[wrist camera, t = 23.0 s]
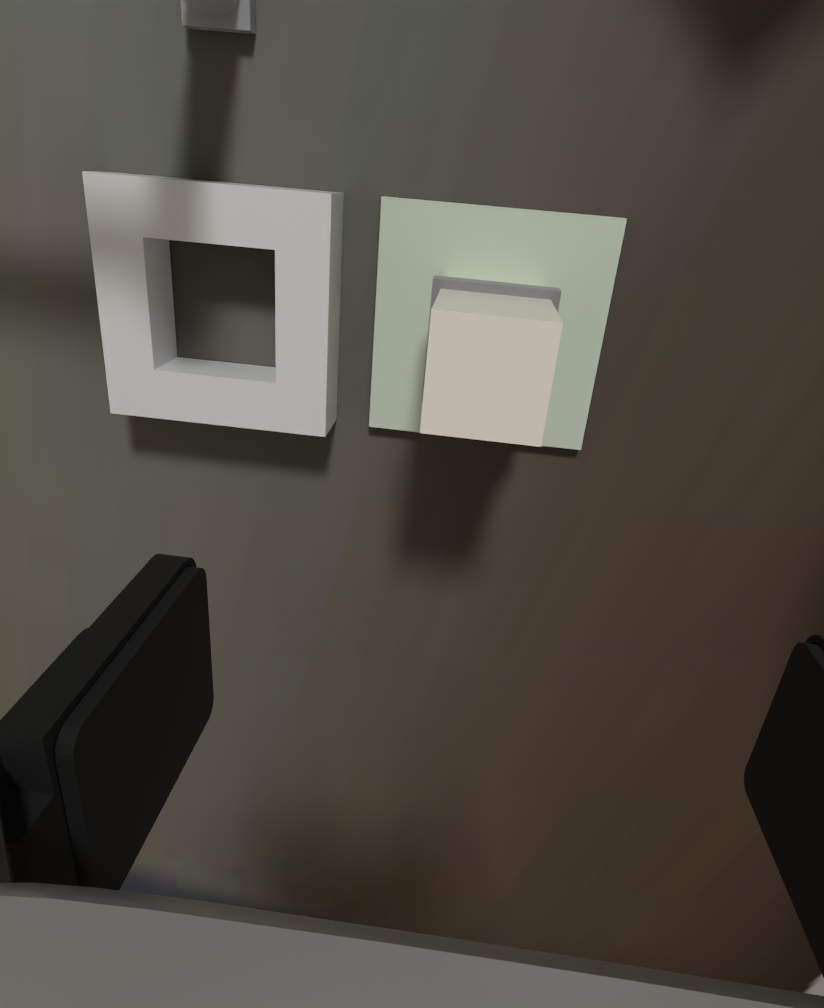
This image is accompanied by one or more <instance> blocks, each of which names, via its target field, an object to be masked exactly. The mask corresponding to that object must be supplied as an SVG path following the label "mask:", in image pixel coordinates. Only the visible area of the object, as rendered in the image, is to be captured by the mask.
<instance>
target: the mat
mask: <svg viewBox="0 0 824 1008" xmlns="http://www.w3.org/2000/svg"><path fill="white" fill-rule="evenodd" d="M626 221H627V219H626V218H618V217H607V216H596V215H585V214H574V213H563V212H552V211H541V210H529V209H518V208H507V207H496V206H485V205H474V204H463V203H451V202H440V201H429V200H418V199H407V198H396V197H385V196H382V197H381V214H380V233H379V251H378V270H377V288H376V306H375V325H374V343H373V361H372V380H371V398H370V417H369V427H375V428H385V429H394V430H403V431H412V432H420V424H421V413H422V403H423V402H421V401H422V390H423V379H424V369H425V358H426V347H427V336H428V326H429V315H430V304H431V293H432V283H433V278H434V276H435V275H437V276H447V277H457V278H466V279H476V280H486V281H496V282H506V283H516V284H526V285H535V286H545V287H555V288H560V290H561V291H562V292H561V298H560V304H559V309H558V314H559V316H560V318H561V320H562V322H563V327H562V333H561V338H560V344H559V349H558V355H557V361H556V366H555V372H554V378H553V383H552V389H551V394H550V400H549V406H548V411H547V417H546V423H545V428H544V434H543V439H542V445H541V446H548V447H557V448H566V449H575V450H581V446H582V441H583V436H584V431H585V426H586V421H587V416H588V411H589V406H590V401H591V396H592V391H593V386H594V381H595V376H596V371H597V366H598V361H599V356H600V351H601V346H602V341H603V336H604V331H605V326H606V321H607V316H608V311H609V306H610V301H611V296H612V291H613V286H614V281H615V276H616V271H617V266H618V261H619V256H620V251H621V246H622V241H623V236H624V231H625V226H626Z"/></svg>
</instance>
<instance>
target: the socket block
mask: <svg viewBox="0 0 824 1008" xmlns="http://www.w3.org/2000/svg"><path fill="white" fill-rule="evenodd" d="M181 14H182V26H184V27H186V28H188V29H196V30H209V31H222V32H235V33H248V34H256V19H255V0H181ZM82 174H83V183H84V191H85V200H86V208H87V217H88V225H89V234H90V242H91V251H92V259H93V268H94V276H95V284H96V293H97V301H98V310H99V318H100V327H101V335H102V344H103V352H104V361H105V369H106V378H107V386H108V395H109V403H110V412H111V413H113V414H122V415H131V416H140V417H149V418H158V419H167V420H176V421H185V422H194V423H203V424H212V425H221V426H230V427H239V428H248V429H257V430H266V431H275V432H284V433H293V434H302V435H311V436H320V437H326V435H327V434H328V432H329V431H330V429H331V427H332V426H333V424H334V423H335V421H336V420H337V389H338V358H339V328H340V297H341V266H342V235H343V204H344V193H340V192H329V191H318V190H307V189H296V188H285V187H273V186H262V185H251V184H240V183H229V182H218V181H207V180H195V179H184V178H173V177H162V176H151V175H140V174H129V173H118V172H91V171H82ZM169 240H176V241H186V242H197V243H207V244H218V245H228V246H239V247H249V248H260V249H270V250H275V332H276V367H267V366H257V365H248V364H238V363H229V362H220V361H210V360H201V359H191V358H182V357H177V344H176V330H175V316H174V302H173V288H172V274H171V260H170V246H169Z"/></svg>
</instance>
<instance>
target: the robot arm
mask: <svg viewBox="0 0 824 1008" xmlns="http://www.w3.org/2000/svg"><path fill="white" fill-rule="evenodd" d="M212 706H213V679H212V662H211V646H210V630H209V613H208V597H207V581H206V573H205V570H204V569H203V568H197V567H196V563H195V561H194V560H193V559H192V558H188V557H180V556H172V555H164V554H156V555H155V556H153V557H152V558H151V559H150V560H149V562H148V563H147V564H146V565H145V566H144V567H143V568H142V569H141V570H140V572H139V573H138V574H137V575H136V576H135V577H134V578H133V579H132V580H131V582H130V583H129V584H128V585H127V586H126V587H125V588H124V589H123V590H122V592H121V593H120V594H119V595H118V596H117V597H116V598H115V599H114V600H113V602H112V603H111V604H110V605H109V606H108V607H107V608H106V609H105V610H104V612H103V613H102V614H101V615H100V616H99V617H98V618H97V619H96V620H95V622H94V623H93V624H92V625H91V626H90V627H89V628H87V629H85V630H83V631H82V632H81V633H80V634H79V635H78V636H77V637H76V638H75V639H74V640H73V641H72V642H71V643H70V644H69V645H68V647H67V648H66V649H65V650H64V651H63V652H62V653H61V654H60V655H59V656H58V658H57V659H56V660H55V661H54V662H53V663H52V664H51V665H50V666H49V667H48V669H47V670H46V671H45V672H44V673H43V674H42V675H41V676H40V677H39V678H38V680H37V681H36V682H35V683H34V684H33V685H32V686H31V687H30V688H29V689H28V691H27V692H26V693H25V694H24V695H23V696H22V697H21V698H20V699H19V700H18V701H17V703H16V704H15V705H14V706H13V707H12V708H11V709H10V710H9V711H8V712H7V714H6V715H5V716H4V717H3V718H2V719H1V720H0V1008H824V996H818V995H812V994H806V993H799V992H793V991H787V990H781V989H774V988H768V987H762V986H755V985H749V984H743V983H737V982H730V981H724V980H718V979H711V978H705V977H699V976H693V975H686V974H680V973H674V972H667V971H661V970H655V969H649V968H642V967H636V966H630V965H623V964H617V963H610V962H604V961H597V960H591V959H584V958H578V957H571V956H565V955H558V954H552V953H545V952H539V951H532V950H526V949H519V948H513V947H506V946H500V945H493V944H487V943H480V942H473V941H467V940H460V939H454V938H447V937H441V936H434V935H428V934H421V933H414V932H408V931H401V930H394V929H388V928H381V927H374V926H367V925H361V924H354V923H347V922H340V921H333V920H327V919H320V918H313V917H306V916H300V915H293V914H286V913H279V912H272V911H266V910H259V909H252V908H245V907H239V906H232V905H225V904H218V903H211V902H203V901H196V900H188V899H180V898H172V897H165V896H157V895H149V894H141V893H134V892H126V891H119V890H120V888H121V886H122V884H123V882H124V880H125V878H126V876H127V874H128V872H129V870H130V869H131V867H132V865H133V863H134V861H135V859H136V857H137V855H138V853H139V851H140V849H141V848H142V846H143V844H144V842H145V840H146V838H147V836H148V834H149V832H150V830H151V828H152V827H153V825H154V823H155V821H156V819H157V817H158V815H159V813H160V811H161V809H162V807H163V806H164V804H165V802H166V800H167V798H168V796H169V794H170V792H171V790H172V788H173V786H174V785H175V783H176V781H177V779H178V777H179V775H180V773H181V771H182V769H183V767H184V765H185V764H186V762H187V760H188V758H189V756H190V754H191V752H192V750H193V748H194V746H195V744H196V743H197V741H198V739H199V737H200V735H201V733H202V731H203V729H204V727H205V725H206V723H207V721H208V719H209V717H210V714H211V711H212ZM744 785H745V790H746V793H747V796H748V799H749V801H750V803H751V806H752V808H753V810H754V813H755V815H756V818H757V820H758V822H759V825H760V827H761V829H762V832H763V834H764V837H765V839H766V841H767V844H768V846H769V848H770V851H771V853H772V856H773V858H774V860H775V863H776V865H777V868H778V870H779V872H780V875H781V877H782V879H783V882H784V884H785V887H786V889H787V891H788V894H789V896H790V898H791V901H792V903H793V906H794V908H795V910H796V913H797V915H798V917H799V920H800V922H801V925H802V927H803V929H804V932H805V934H806V936H807V939H808V941H809V944H810V946H811V948H812V951H813V953H814V955H815V958H816V960H817V963H818V965H819V967H820V970H821V972H822V974H823V977H824V636H821V635H813V636H810V637H809V638H808V639H807V640H806V642H805V643H798V644H797V645H796V646H795V647H794V649H793V651H792V653H791V656H790V658H789V661H788V663H787V666H786V668H785V671H784V673H783V676H782V678H781V681H780V683H779V686H778V688H777V691H776V693H775V696H774V698H773V701H772V703H771V706H770V708H769V711H768V713H767V716H766V718H765V721H764V723H763V726H762V728H761V731H760V733H759V736H758V738H757V741H756V743H755V746H754V748H753V751H752V753H751V756H750V758H749V761H748V763H747V766H746V769H745V774H744Z"/></svg>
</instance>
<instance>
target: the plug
mask: <svg viewBox="0 0 824 1008" xmlns="http://www.w3.org/2000/svg"><path fill="white" fill-rule="evenodd" d="M561 292H562V291H561V290H560V288H555V287H545V286H535V285H526V284H516V283H506V282H496V281H486V280H476V279H466V278H457V277H447V276H437V275H435V276H434V278H433V283H432V293H431V304H430V315H429V326H428V336H427V347H426V358H425V369H424V379H423V390H422V401H421V402H423V403H422V413H421V424H420V433H424V434H432V435H441V436H450V437H458V438H467V439H476V440H485V441H493V442H502V443H511V444H519V445H528V446H537V447H541V445H542V439H543V434H544V428H545V423H546V417H547V411H548V406H549V400H550V394H551V389H552V383H553V378H554V372H555V366H556V361H557V355H558V349H559V344H560V338H561V333H562V327H563V322H562V320H561V318H560V316H559V314H558V309H559V304H560V298H561Z"/></svg>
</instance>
